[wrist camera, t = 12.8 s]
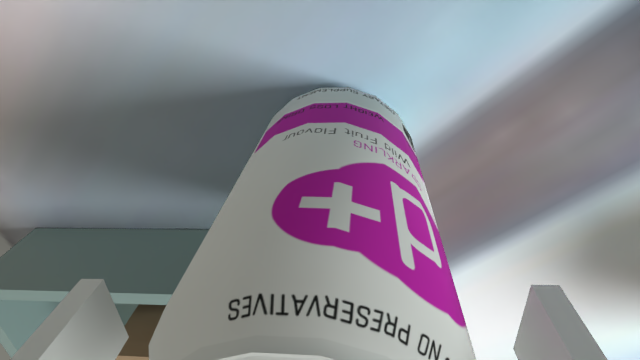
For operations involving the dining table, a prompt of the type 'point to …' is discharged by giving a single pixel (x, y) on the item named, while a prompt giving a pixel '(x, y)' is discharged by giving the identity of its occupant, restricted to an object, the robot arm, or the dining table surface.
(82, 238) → the tote
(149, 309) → the walnut cube
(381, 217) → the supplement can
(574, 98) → the dining table surface
